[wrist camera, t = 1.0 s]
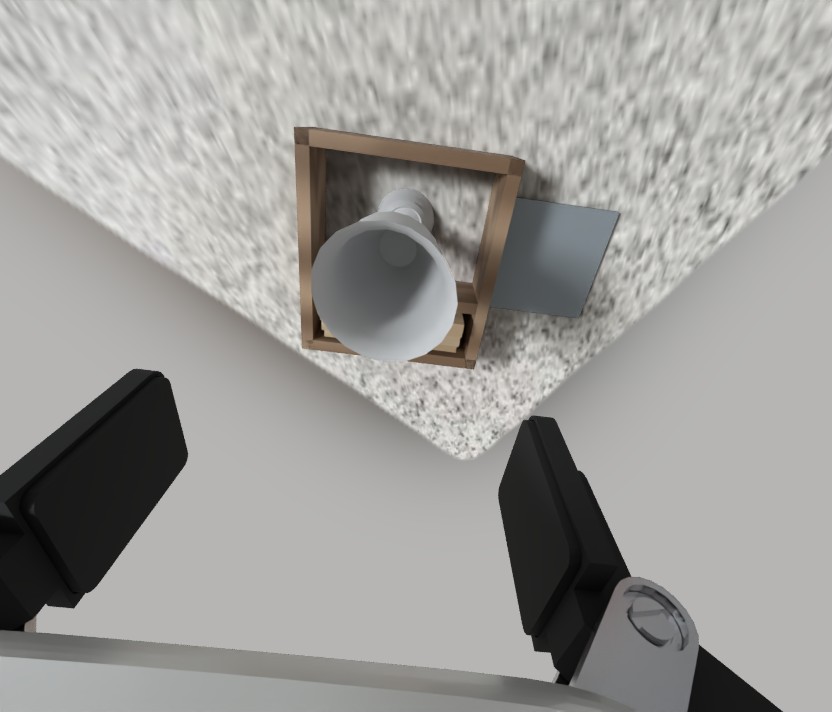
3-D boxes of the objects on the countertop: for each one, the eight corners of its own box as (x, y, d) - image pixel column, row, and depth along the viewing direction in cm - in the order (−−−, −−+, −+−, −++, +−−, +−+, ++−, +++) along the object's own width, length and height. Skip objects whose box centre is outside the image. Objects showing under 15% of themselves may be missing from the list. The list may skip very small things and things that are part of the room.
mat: (514, 197, 32) (515, 198, 32) (617, 211, 32) (619, 212, 32) (488, 305, 37) (488, 306, 37) (577, 316, 38) (578, 318, 37)
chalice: (349, 203, 33) (278, 271, 17) (415, 156, 31) (401, 185, 15) (396, 273, 36) (372, 382, 21) (459, 234, 34) (484, 323, 18)
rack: (313, 127, 30) (294, 127, 26) (511, 155, 31) (525, 160, 26) (316, 323, 39) (302, 348, 35) (469, 343, 40) (473, 369, 35)
